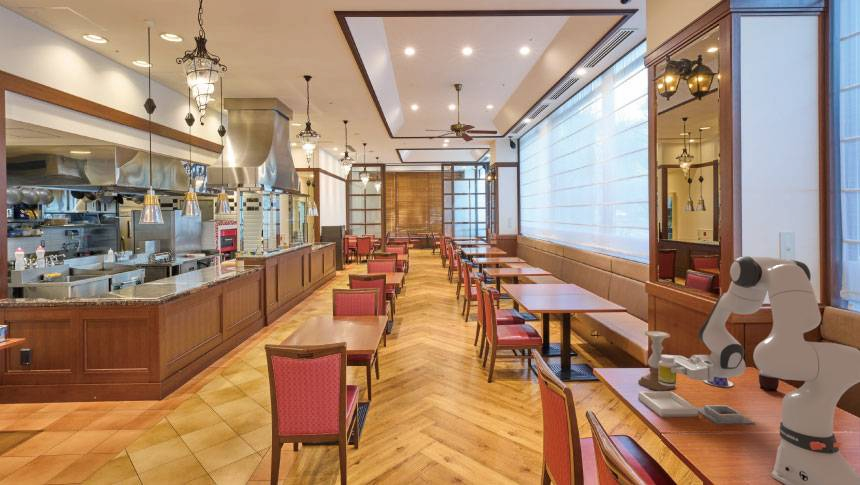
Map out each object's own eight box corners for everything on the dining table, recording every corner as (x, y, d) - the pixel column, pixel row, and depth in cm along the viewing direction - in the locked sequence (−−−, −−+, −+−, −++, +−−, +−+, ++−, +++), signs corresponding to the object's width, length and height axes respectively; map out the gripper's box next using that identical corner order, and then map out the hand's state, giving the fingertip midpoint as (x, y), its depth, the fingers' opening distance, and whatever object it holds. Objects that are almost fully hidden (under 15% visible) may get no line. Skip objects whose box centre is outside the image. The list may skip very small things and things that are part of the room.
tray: (698, 416, 168) (698, 408, 168) (661, 417, 168) (661, 409, 167) (671, 398, 186) (671, 391, 186) (638, 398, 186) (638, 391, 185)
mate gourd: (780, 389, 195) (781, 356, 194) (776, 394, 190) (776, 359, 189) (759, 385, 201) (760, 352, 200) (754, 389, 195) (755, 355, 195)
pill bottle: (678, 387, 173) (678, 359, 172) (661, 385, 174) (661, 358, 173) (673, 381, 179) (673, 354, 178) (656, 380, 180) (656, 353, 180)
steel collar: (755, 424, 161) (755, 417, 161) (716, 424, 161) (717, 418, 161) (728, 408, 175) (728, 402, 175) (693, 409, 175) (693, 402, 175)
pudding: (696, 380, 208) (696, 369, 208) (715, 378, 212) (715, 367, 211) (720, 389, 197) (720, 377, 196) (740, 386, 200) (740, 375, 200)
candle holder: (637, 383, 203) (638, 332, 203) (654, 380, 208) (654, 329, 207) (659, 391, 193) (659, 337, 193) (675, 387, 198) (676, 334, 197)
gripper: (684, 351, 187) (651, 351, 186) (716, 366, 166) (679, 366, 166) (684, 365, 187) (651, 366, 187) (716, 383, 166) (679, 383, 166)
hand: (665, 366), depth 176 cm, fingers closed on pill bottle, 6 cm apart
